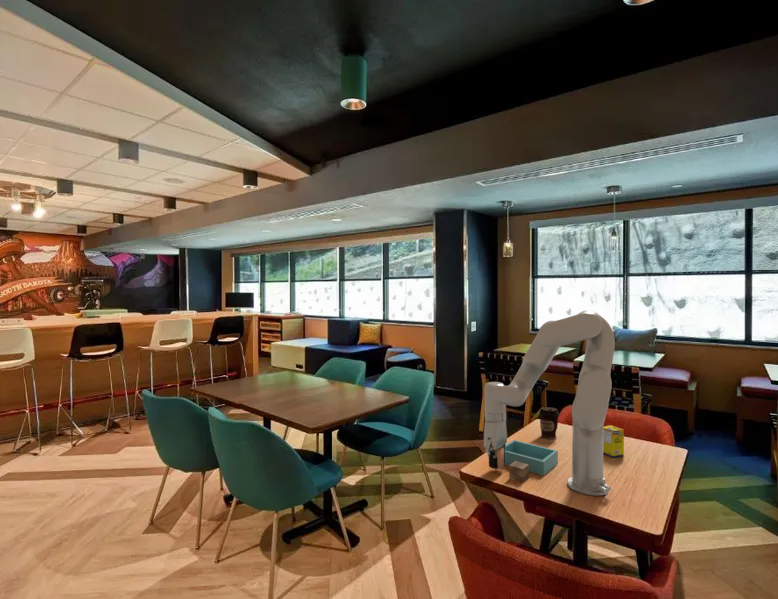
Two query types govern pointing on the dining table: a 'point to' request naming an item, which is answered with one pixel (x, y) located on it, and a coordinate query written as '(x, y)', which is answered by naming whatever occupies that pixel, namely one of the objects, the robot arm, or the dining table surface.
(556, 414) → the coffee cup
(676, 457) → the dining table surface
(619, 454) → the supplement box
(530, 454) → the tote
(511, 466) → the cube
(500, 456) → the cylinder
